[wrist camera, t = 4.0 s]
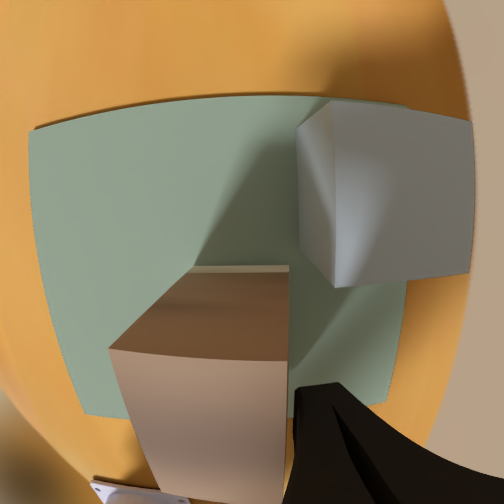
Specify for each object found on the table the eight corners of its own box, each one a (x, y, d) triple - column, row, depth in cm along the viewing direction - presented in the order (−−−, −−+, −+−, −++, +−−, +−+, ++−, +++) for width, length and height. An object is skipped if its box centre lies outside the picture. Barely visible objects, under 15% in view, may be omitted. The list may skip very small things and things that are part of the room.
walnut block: (288, 384, 14) (282, 506, 7) (207, 381, 14) (161, 492, 8) (288, 264, 13) (286, 361, 6) (193, 265, 13) (107, 348, 6)
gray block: (401, 242, 13) (469, 272, 8) (299, 248, 13) (334, 287, 8) (401, 135, 12) (471, 121, 7) (295, 129, 12) (331, 100, 7)
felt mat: (384, 398, 16) (386, 401, 16) (86, 411, 15) (84, 414, 15) (404, 106, 12) (407, 105, 12) (32, 132, 11) (28, 131, 11)
